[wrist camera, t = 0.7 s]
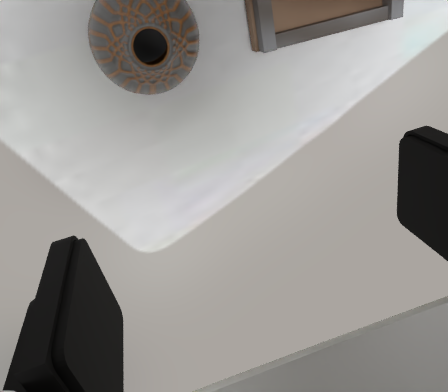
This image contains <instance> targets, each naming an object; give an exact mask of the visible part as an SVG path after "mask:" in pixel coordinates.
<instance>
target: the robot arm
mask: <svg viewBox="0 0 448 392" xmlns="http://www.w3.org/2000/svg"><path fill="white" fill-rule="evenodd" d="M397 217H398V219H399V221H400V223H401V224H402V225H403V226H404V227H405V228H407V229H408V230H409V231H410V232H412V233H413V234H414V235H416V236H417V237H418V238H419V239H421V240H422V241H423V242H424V243H426V244H427V245H428V246H429V247H431V248H432V249H433V250H434V251H436V252H437V253H438V254H439V255H441V256H442V257H443V258H444V259H446V260H447V261H448V134H447V133H444V132H442V131H439V130H437V129H435V128H432V127H429V126H424V127H420V128H417V129H414V130H411V131H408V132H406V133H405V134H404V137H403V138H402V139H401V140H400V143H399V169H398V196H397ZM1 392H123V316H122V312H121V309H120V306H119V305H118V302H117V300H116V298H115V296H114V294H113V293H112V291H111V289H110V287H109V285H108V283H107V281H106V279H105V277H104V275H103V273H102V271H101V269H100V267H99V265H98V263H97V261H96V259H95V257H94V255H93V253H92V251H91V249H90V247H89V245H88V243H87V242H86V240H85V239H79V240H78V238H76V236H71V237H68V238H65V239H61V240H58V241H55V242H53V243H52V244H51V246H50V250H49V253H48V256H47V260H46V264H45V267H44V270H43V273H42V277H41V280H40V284H39V287H38V291H37V294H36V298H35V299H34V300H33V301H31V302H30V305H29V307H28V310H27V313H26V317H25V320H24V323H23V326H22V329H21V332H20V336H19V339H18V343H17V346H16V349H15V352H14V355H13V359H12V362H11V365H10V368H9V372H8V375H7V378H6V381H5V385H4V388H3V391H1ZM193 392H448V296H447V297H444V298H441V299H438V300H436V301H433V302H430V303H428V304H425V305H422V306H419V307H417V308H414V309H411V310H409V311H406V312H403V313H400V314H398V315H395V316H392V317H390V318H387V319H384V320H381V321H379V322H376V323H373V324H371V325H368V326H366V327H363V328H360V329H358V330H355V331H352V332H349V333H346V334H344V335H341V336H338V337H336V338H333V339H331V340H328V341H325V342H323V343H320V344H317V345H314V346H312V347H309V348H306V349H304V350H301V351H298V352H296V353H293V354H290V355H288V356H285V357H283V358H280V359H277V360H274V361H272V362H269V363H266V364H264V365H261V366H259V367H256V368H253V369H250V370H248V371H245V372H242V373H240V374H237V375H235V376H232V377H229V378H227V379H224V380H221V381H219V382H216V383H213V384H211V385H208V386H206V387H203V388H200V389H198V390H195V391H193Z"/></svg>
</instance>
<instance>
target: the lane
mask: <svg viewBox="0 0 448 392" xmlns="http://www.w3.org/2000/svg"><path fill="white" fill-rule="evenodd" d="M403 4H404V0H245V5H246V12H247V19H248V25H249V32H250V38H251V45H252V50H253V51H255V52H258V51H261V52H263V53H266V52H270V51H274V50H277V48H281V47H285V46H289V45H293V44H296V43H300V42H304V41H308V40H312V39H316V38H320V37H323V36H327V35H331V34H335V33H339V32H343V31H346V30H350V29H354V28H358V27H362V26H366V25H369V24H373V23H377V22H381V21H385V20H393V19H397V18H400V17H403Z"/></svg>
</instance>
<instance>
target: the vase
mask: <svg viewBox="0 0 448 392" xmlns="http://www.w3.org/2000/svg"><path fill="white" fill-rule="evenodd" d="M88 36H89V43H90V47H91V51H92V54H93V56H94V58H95V60H96V62H97V64H98V65H99V67H100V68H101V70H102V71H103V72H104V74H105V75H106V76H107V77H108V78H109V79H110V80H112V81H113V82H114V83H115V84H117V85H118V86H120V87H122V88H124V89H126V90H128V91H131V92H134V93H138V94H146V95H151V94H158V93H163V92H166V91H168V90H170V89H172V88H174V87H176V86H177V85H178V84H180V83H181V82H182V81H183V80H184V79H185V78H186V77H187V76H188V74H189V73H190V71H191V70H192V68H193V66H194V64H195V61H196V58H197V55H198V49H199V31H198V26H197V22H196V19H195V17H194V14H193V12H192V10H191V8H190V6H189V5H188V3H187V2H186V1H185V0H96V2H95V4H94V6H93V8H92V11H91V14H90V18H89V25H88Z"/></svg>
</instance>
